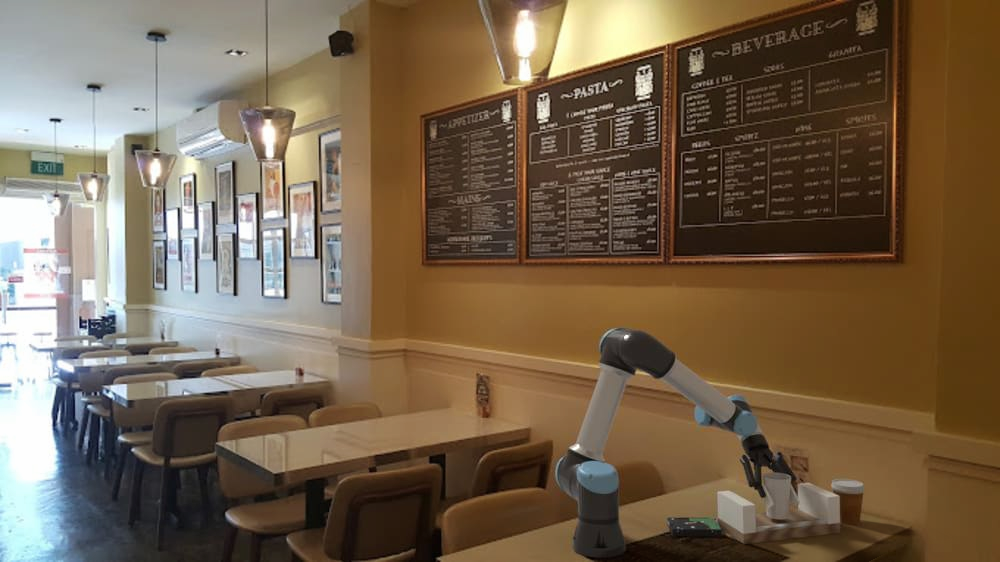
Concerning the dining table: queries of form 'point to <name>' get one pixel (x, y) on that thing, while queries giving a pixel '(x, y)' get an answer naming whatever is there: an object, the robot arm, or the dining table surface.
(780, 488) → the cup
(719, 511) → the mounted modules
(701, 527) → the disk drive
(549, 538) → the dining table surface
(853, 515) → the disposable coffee cup
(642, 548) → the dining table surface
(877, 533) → the dining table surface
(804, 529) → the board
